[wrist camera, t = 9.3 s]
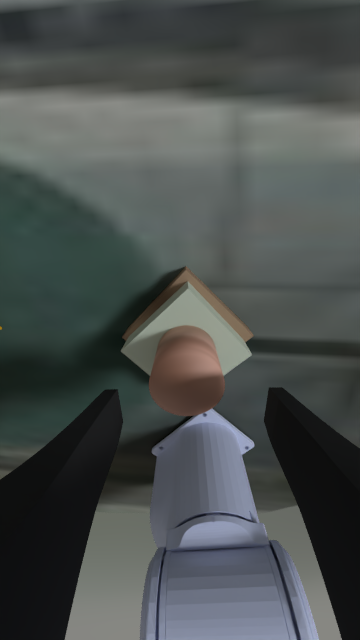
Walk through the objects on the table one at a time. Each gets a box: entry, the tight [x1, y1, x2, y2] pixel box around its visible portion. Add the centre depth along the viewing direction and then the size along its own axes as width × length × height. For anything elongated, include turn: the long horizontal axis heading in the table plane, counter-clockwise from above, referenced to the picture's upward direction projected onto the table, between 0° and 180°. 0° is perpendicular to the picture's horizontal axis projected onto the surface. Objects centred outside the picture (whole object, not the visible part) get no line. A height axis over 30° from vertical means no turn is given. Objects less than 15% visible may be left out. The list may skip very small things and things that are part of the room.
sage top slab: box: [121, 281, 252, 376], centre depth 17 cm, size 7×7×2 cm
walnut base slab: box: [122, 267, 254, 342], centre depth 20 cm, size 8×8×2 cm
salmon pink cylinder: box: [149, 325, 225, 416], centre depth 14 cm, size 4×4×4 cm
